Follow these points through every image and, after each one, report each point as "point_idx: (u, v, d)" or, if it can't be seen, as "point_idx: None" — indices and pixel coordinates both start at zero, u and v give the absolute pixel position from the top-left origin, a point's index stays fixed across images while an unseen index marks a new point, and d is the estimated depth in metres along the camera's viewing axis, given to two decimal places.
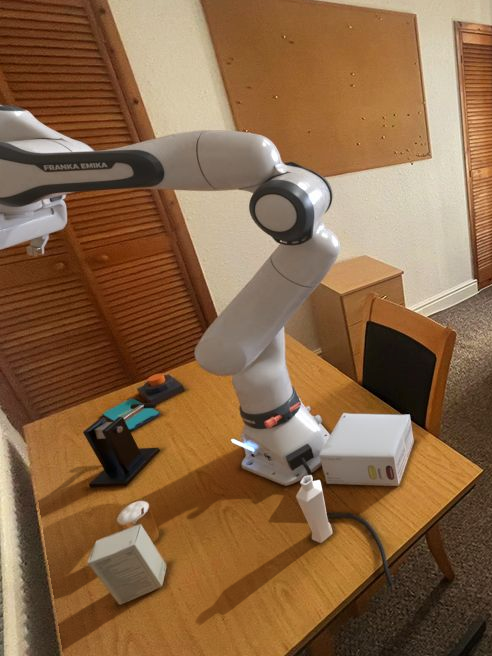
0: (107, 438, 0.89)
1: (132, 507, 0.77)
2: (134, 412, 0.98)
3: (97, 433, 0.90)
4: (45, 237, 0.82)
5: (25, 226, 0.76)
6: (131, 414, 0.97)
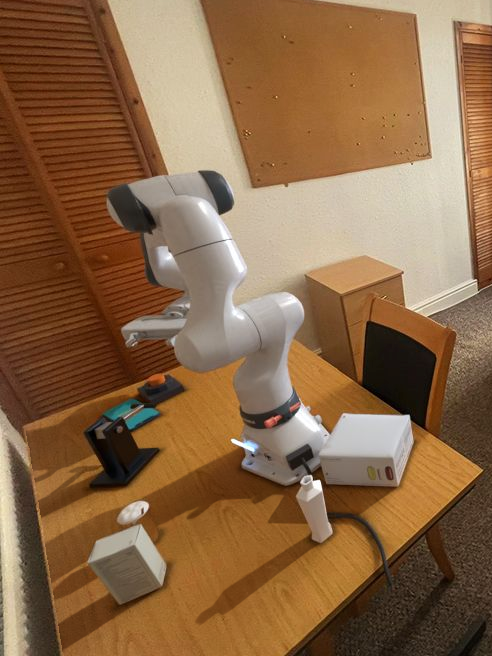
0: (107, 438, 0.89)
1: (132, 507, 0.77)
2: (134, 412, 0.98)
3: (97, 433, 0.90)
4: None
5: (171, 321, 1.10)
6: (131, 414, 0.97)
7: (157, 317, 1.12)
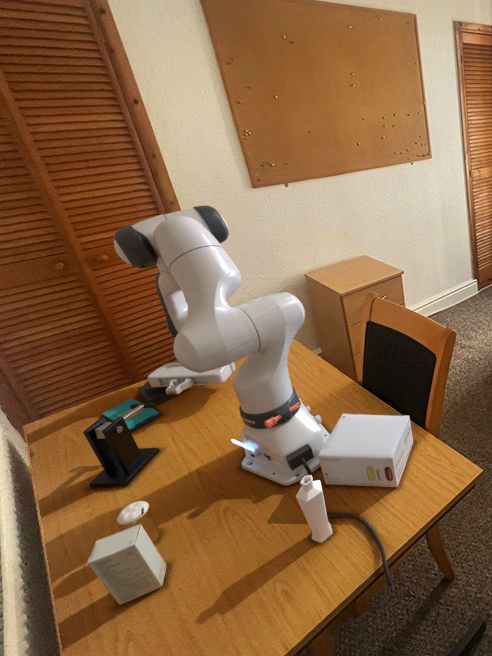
0: (107, 438, 0.89)
1: (132, 507, 0.77)
2: (134, 412, 0.98)
3: (97, 433, 0.90)
4: (186, 380, 1.13)
5: None
6: (131, 414, 0.97)
7: (181, 364, 1.19)
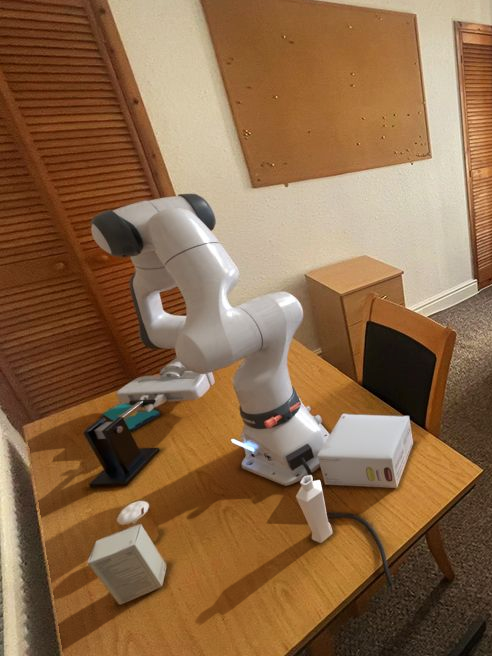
0: (107, 438, 0.89)
1: (132, 507, 0.77)
2: (133, 409, 0.98)
3: (97, 434, 0.90)
4: (158, 396, 1.03)
5: (166, 383, 1.07)
6: (130, 412, 0.97)
7: (154, 378, 1.09)
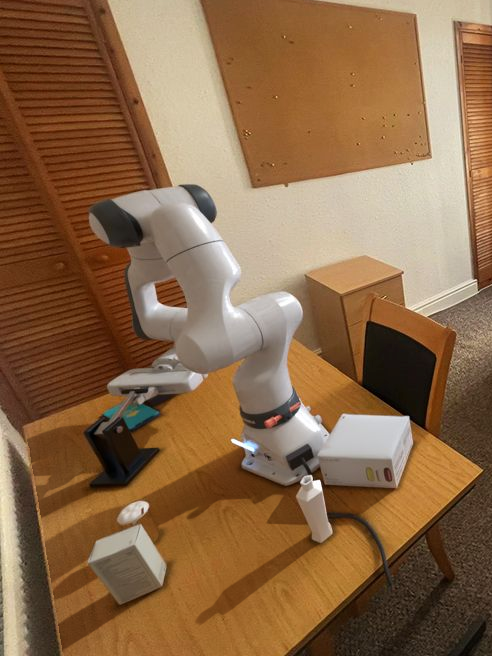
0: (107, 438, 0.89)
1: (132, 507, 0.77)
2: (127, 402, 0.96)
3: (98, 436, 0.90)
4: (150, 388, 1.01)
5: (158, 375, 1.04)
6: (125, 405, 0.96)
7: (146, 370, 1.07)
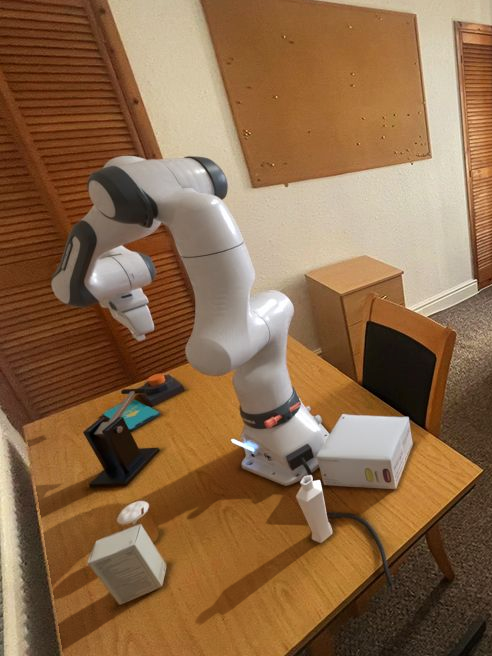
0: (107, 438, 0.89)
1: (132, 507, 0.77)
2: (127, 402, 0.96)
3: (98, 436, 0.90)
4: None
5: (122, 317, 1.09)
6: (125, 405, 0.96)
7: None
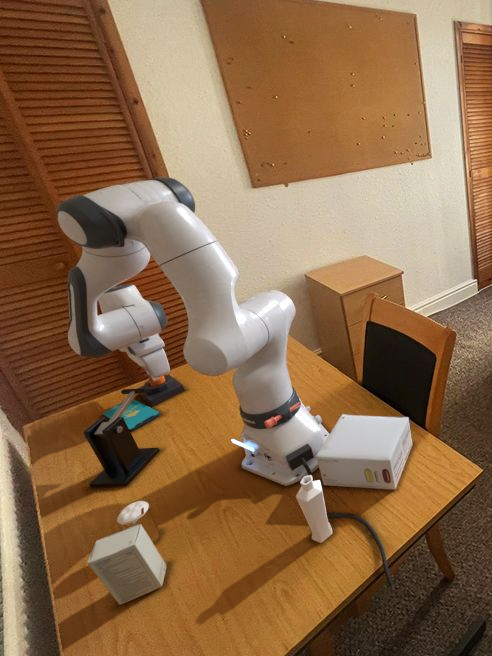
0: (107, 438, 0.89)
1: (132, 507, 0.77)
2: (127, 402, 0.96)
3: (98, 436, 0.90)
4: None
5: (138, 359, 1.14)
6: (125, 405, 0.96)
7: None
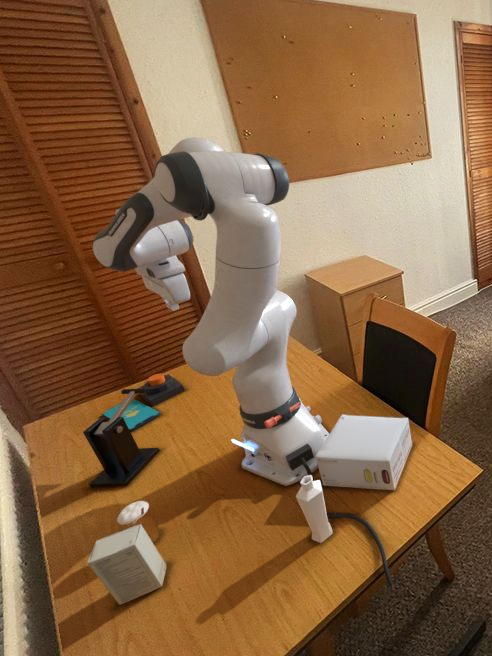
0: (107, 438, 0.89)
1: (132, 507, 0.77)
2: (127, 402, 0.96)
3: (98, 436, 0.90)
4: (167, 299, 1.10)
5: (157, 286, 1.08)
6: (125, 405, 0.96)
7: None
